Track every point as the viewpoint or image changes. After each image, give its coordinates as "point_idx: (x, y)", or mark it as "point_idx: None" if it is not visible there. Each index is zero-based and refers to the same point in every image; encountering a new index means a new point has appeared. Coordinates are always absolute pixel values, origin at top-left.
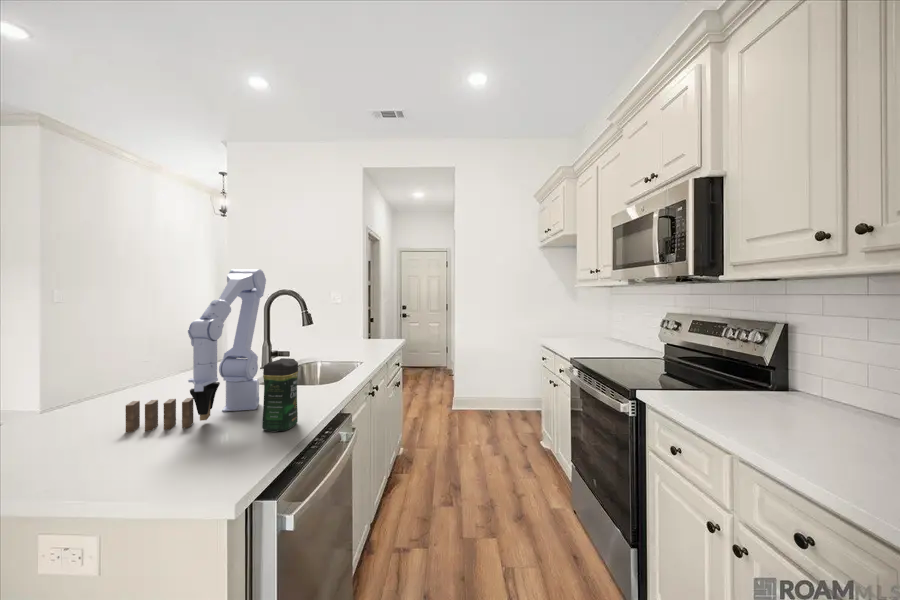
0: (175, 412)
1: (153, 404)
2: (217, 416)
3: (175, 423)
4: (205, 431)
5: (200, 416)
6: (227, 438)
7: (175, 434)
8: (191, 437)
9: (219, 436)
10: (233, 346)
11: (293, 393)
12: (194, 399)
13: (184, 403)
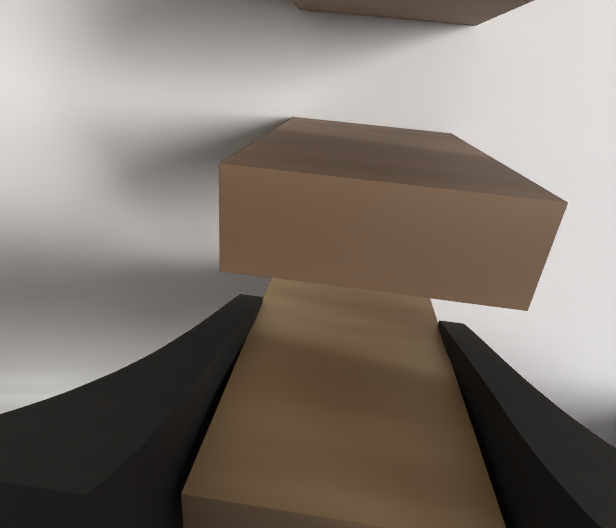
0: (502, 2)
1: None
2: (541, 348)
3: (463, 22)
4: (161, 293)
5: (266, 296)
6: (14, 399)
7: (127, 93)
8: (43, 222)
9: (49, 366)
10: None
11: None
12: (91, 388)
13: (228, 198)
